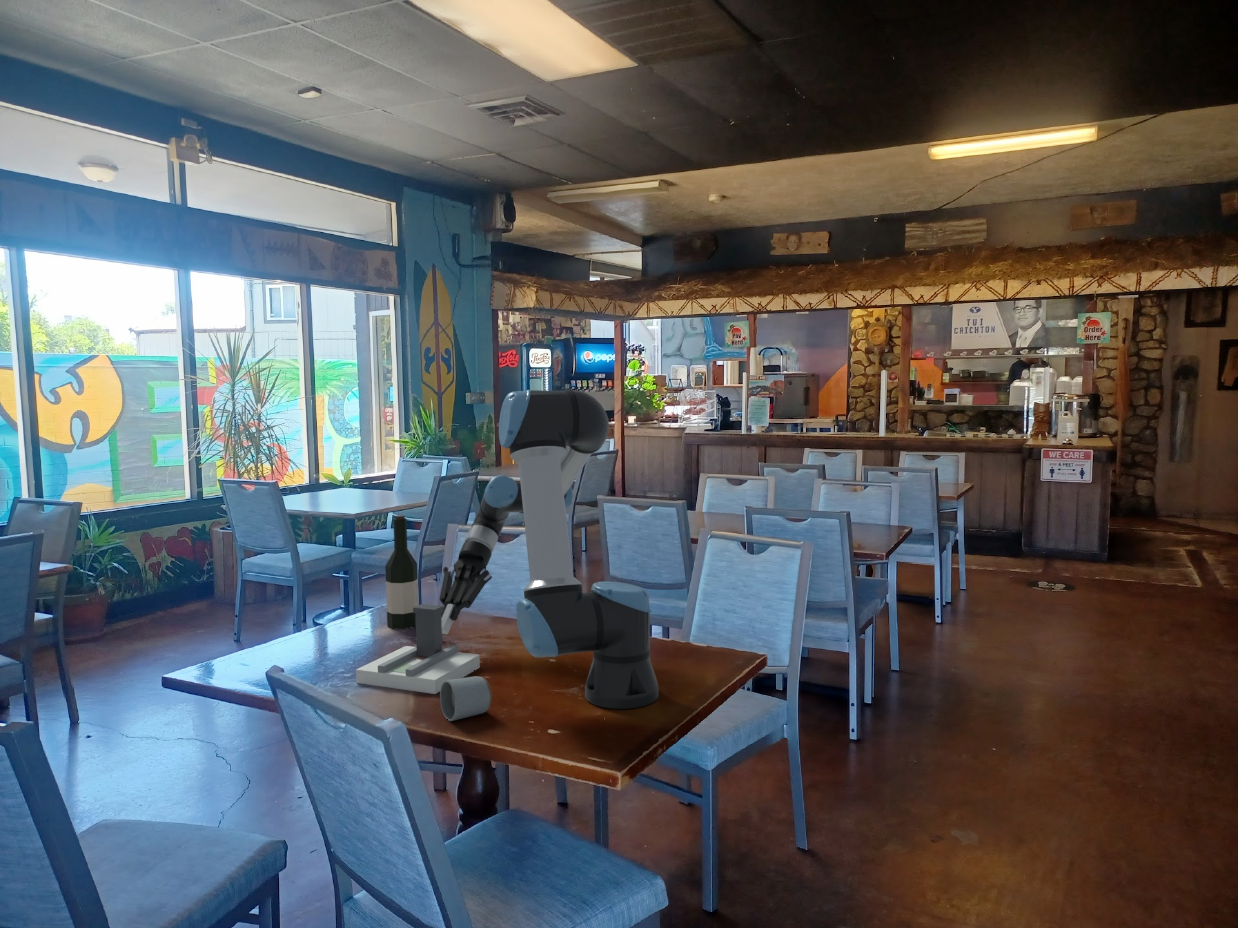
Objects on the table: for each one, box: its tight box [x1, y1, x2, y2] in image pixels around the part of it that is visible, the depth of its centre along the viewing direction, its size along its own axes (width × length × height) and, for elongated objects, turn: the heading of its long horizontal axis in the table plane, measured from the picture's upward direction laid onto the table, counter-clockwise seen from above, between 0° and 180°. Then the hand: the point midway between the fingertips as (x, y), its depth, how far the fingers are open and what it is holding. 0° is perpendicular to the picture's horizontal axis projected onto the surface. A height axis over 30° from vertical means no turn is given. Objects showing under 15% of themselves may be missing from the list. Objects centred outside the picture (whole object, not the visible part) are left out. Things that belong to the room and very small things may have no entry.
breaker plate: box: [355, 644, 481, 695], centre depth 184 cm, size 20×18×4 cm
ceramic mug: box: [439, 675, 493, 722], centre depth 162 cm, size 11×8×8 cm
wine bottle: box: [385, 514, 419, 630], centre depth 224 cm, size 8×8×30 cm
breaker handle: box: [413, 603, 444, 657], centre depth 187 cm, size 6×4×11 cm, turn 69°
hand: (442, 631), depth 193 cm, fingers closed
